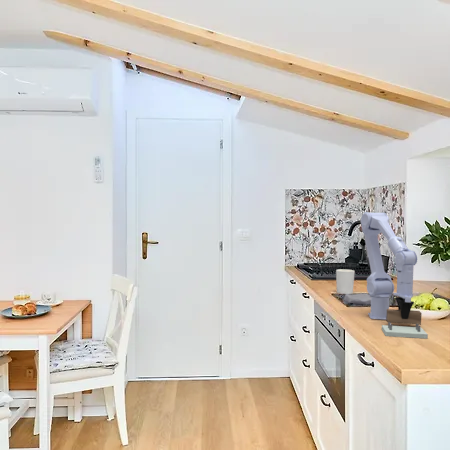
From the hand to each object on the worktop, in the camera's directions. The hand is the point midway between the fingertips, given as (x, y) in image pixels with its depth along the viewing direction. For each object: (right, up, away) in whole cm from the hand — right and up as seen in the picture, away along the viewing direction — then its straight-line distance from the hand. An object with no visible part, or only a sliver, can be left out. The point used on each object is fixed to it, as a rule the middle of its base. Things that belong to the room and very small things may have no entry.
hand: (403, 317), depth 184 cm
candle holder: (-4, -1, +73) cm, 74 cm away
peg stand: (-4, -4, -11) cm, 12 cm away
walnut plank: (0, -2, 0) cm, 2 cm away
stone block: (-4, -2, +46) cm, 47 cm away
